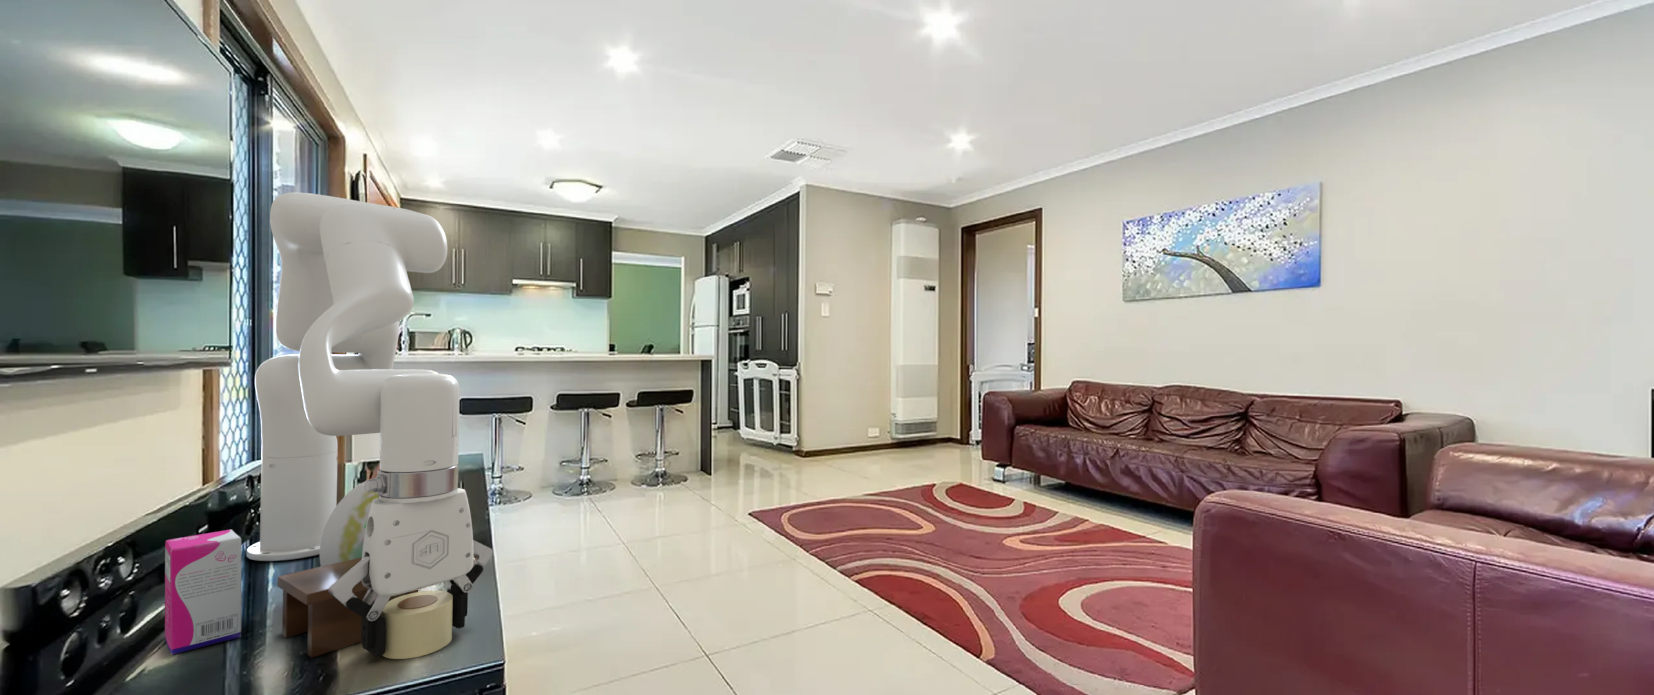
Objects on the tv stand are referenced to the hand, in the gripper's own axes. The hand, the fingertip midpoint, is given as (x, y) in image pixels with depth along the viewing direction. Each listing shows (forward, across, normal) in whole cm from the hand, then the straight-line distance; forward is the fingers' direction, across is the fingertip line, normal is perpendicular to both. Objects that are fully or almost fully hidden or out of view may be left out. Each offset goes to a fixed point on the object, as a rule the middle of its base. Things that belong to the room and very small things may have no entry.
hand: (416, 637), depth 72 cm
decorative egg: (+1, +4, +23) cm, 23 cm away
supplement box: (+1, -13, +21) cm, 25 cm away
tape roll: (+1, 0, 0) cm, 1 cm away
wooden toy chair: (+1, -4, +10) cm, 11 cm away
